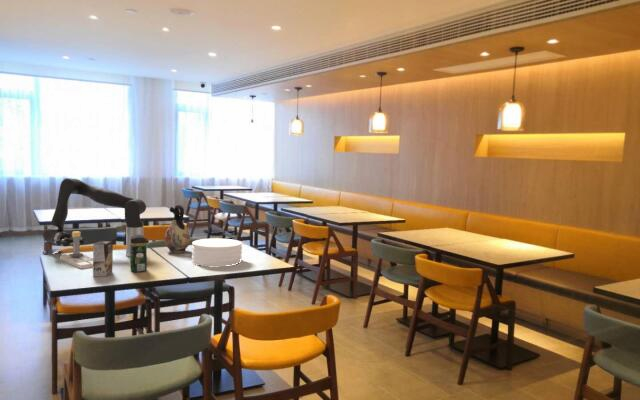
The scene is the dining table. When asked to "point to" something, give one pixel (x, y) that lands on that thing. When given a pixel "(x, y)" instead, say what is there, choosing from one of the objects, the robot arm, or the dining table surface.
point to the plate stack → (216, 252)
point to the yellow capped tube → (76, 244)
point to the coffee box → (102, 258)
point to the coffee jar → (138, 253)
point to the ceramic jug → (177, 232)
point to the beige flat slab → (78, 261)
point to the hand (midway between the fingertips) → (74, 243)
